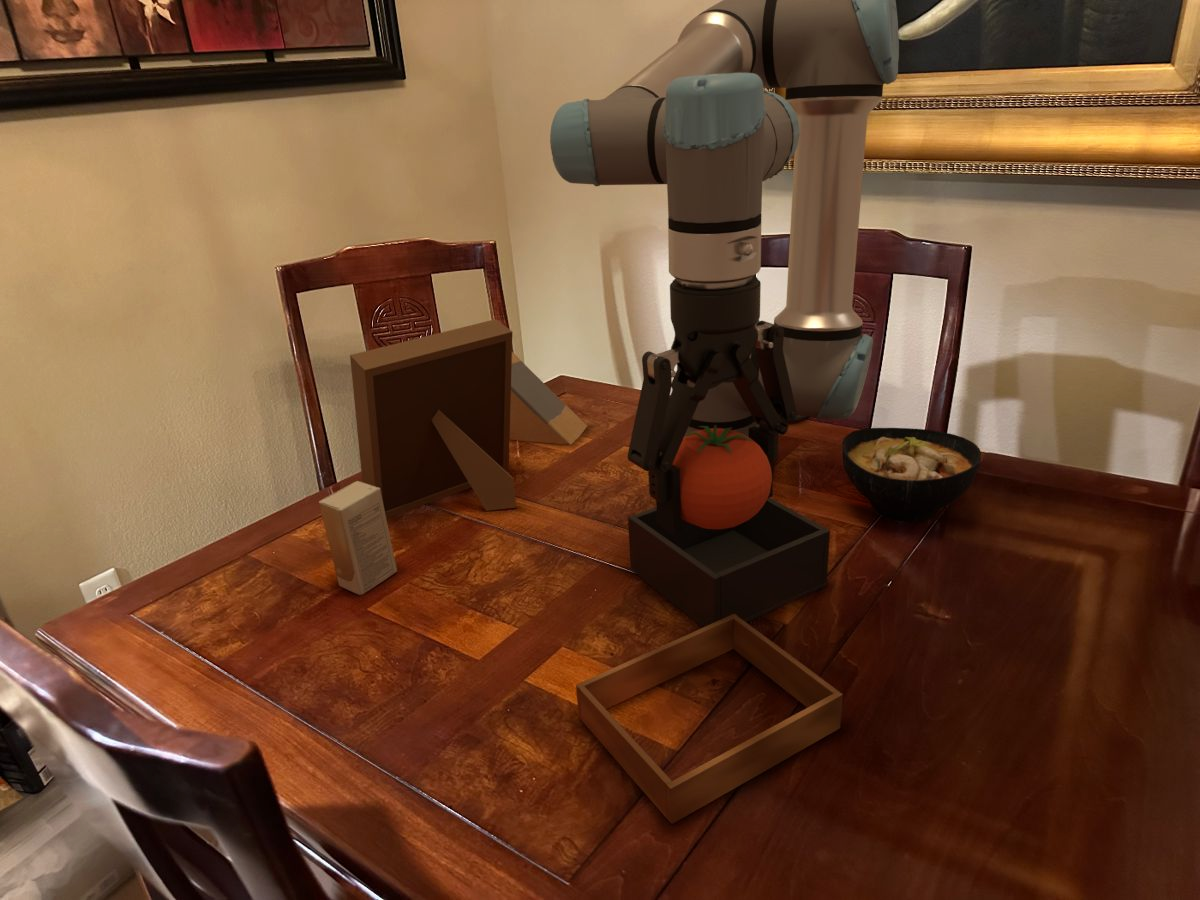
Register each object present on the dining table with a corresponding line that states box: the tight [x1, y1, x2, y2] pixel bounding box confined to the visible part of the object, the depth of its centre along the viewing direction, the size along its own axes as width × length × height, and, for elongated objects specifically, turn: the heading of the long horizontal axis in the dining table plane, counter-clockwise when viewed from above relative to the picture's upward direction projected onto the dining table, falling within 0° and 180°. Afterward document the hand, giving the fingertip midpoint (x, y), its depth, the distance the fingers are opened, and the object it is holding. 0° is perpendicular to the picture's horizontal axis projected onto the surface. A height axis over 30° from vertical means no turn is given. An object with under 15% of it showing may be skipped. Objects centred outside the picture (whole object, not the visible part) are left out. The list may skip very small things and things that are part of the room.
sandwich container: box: [510, 351, 588, 446], centre depth 142 cm, size 9×15×15 cm, turn 71°
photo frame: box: [349, 318, 517, 519], centre depth 117 cm, size 15×22×25 cm
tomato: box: [672, 425, 772, 529], centre depth 78 cm, size 10×10×10 cm
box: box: [575, 614, 844, 825], centre depth 78 cm, size 19×15×4 cm
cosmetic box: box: [318, 480, 398, 596], centre depth 103 cm, size 6×4×12 cm
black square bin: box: [627, 497, 831, 628], centre depth 100 cm, size 17×17×8 cm
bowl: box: [841, 427, 982, 523], centre depth 112 cm, size 17×17×10 cm
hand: (715, 509), depth 79 cm, fingers closed on tomato, 10 cm apart
